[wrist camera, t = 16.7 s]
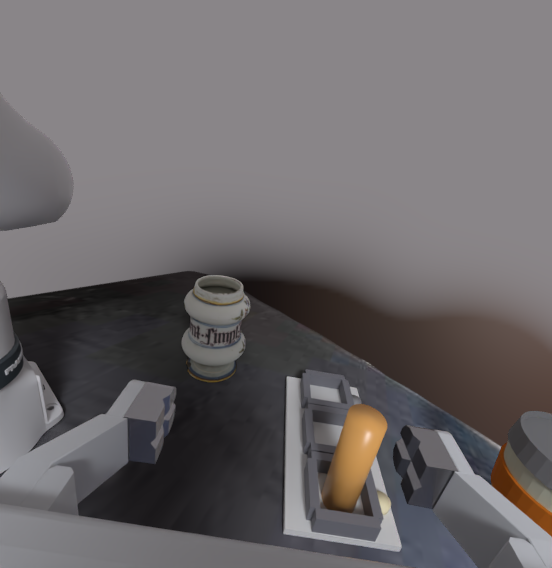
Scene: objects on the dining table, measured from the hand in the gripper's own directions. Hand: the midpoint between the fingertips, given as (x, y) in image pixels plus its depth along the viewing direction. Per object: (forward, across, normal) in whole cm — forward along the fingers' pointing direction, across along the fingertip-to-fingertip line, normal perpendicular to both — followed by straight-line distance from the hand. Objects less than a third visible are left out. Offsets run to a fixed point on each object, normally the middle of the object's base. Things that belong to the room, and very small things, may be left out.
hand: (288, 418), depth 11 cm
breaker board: (+28, -12, +32) cm, 44 cm away
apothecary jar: (+42, +10, +32) cm, 54 cm away
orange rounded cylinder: (+19, -12, +31) cm, 38 cm away
